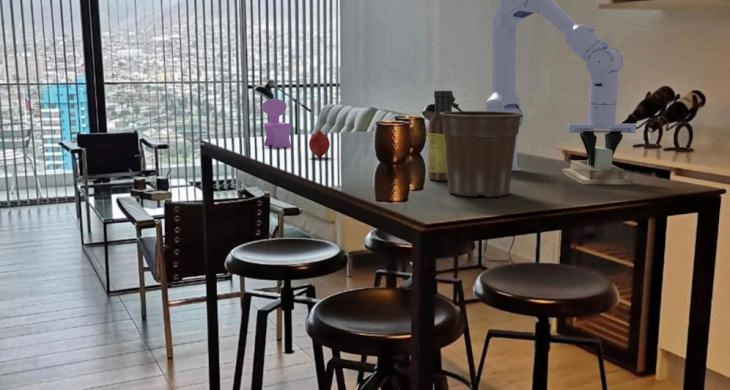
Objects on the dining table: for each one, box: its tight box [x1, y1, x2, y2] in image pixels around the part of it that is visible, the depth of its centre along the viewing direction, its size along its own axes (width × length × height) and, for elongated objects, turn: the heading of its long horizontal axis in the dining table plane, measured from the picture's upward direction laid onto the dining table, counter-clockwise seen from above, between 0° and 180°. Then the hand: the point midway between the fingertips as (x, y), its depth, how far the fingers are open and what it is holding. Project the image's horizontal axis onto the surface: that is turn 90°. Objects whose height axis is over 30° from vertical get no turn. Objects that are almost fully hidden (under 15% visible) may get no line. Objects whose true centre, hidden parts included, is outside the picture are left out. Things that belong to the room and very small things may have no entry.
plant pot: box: [440, 110, 524, 198], centre depth 142 cm, size 16×16×16 cm
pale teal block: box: [587, 145, 613, 170], centre depth 159 cm, size 3×8×6 cm, turn 179°
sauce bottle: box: [427, 90, 454, 182], centre depth 158 cm, size 6×6×20 cm
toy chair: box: [261, 98, 292, 149], centre depth 227 cm, size 8×9×15 cm
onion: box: [308, 128, 331, 158], centre depth 198 cm, size 6×6×8 cm
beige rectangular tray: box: [561, 159, 635, 185], centre depth 161 cm, size 11×17×3 cm, turn 179°
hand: (599, 165), depth 159 cm, fingers closed on pale teal block, 3 cm apart
